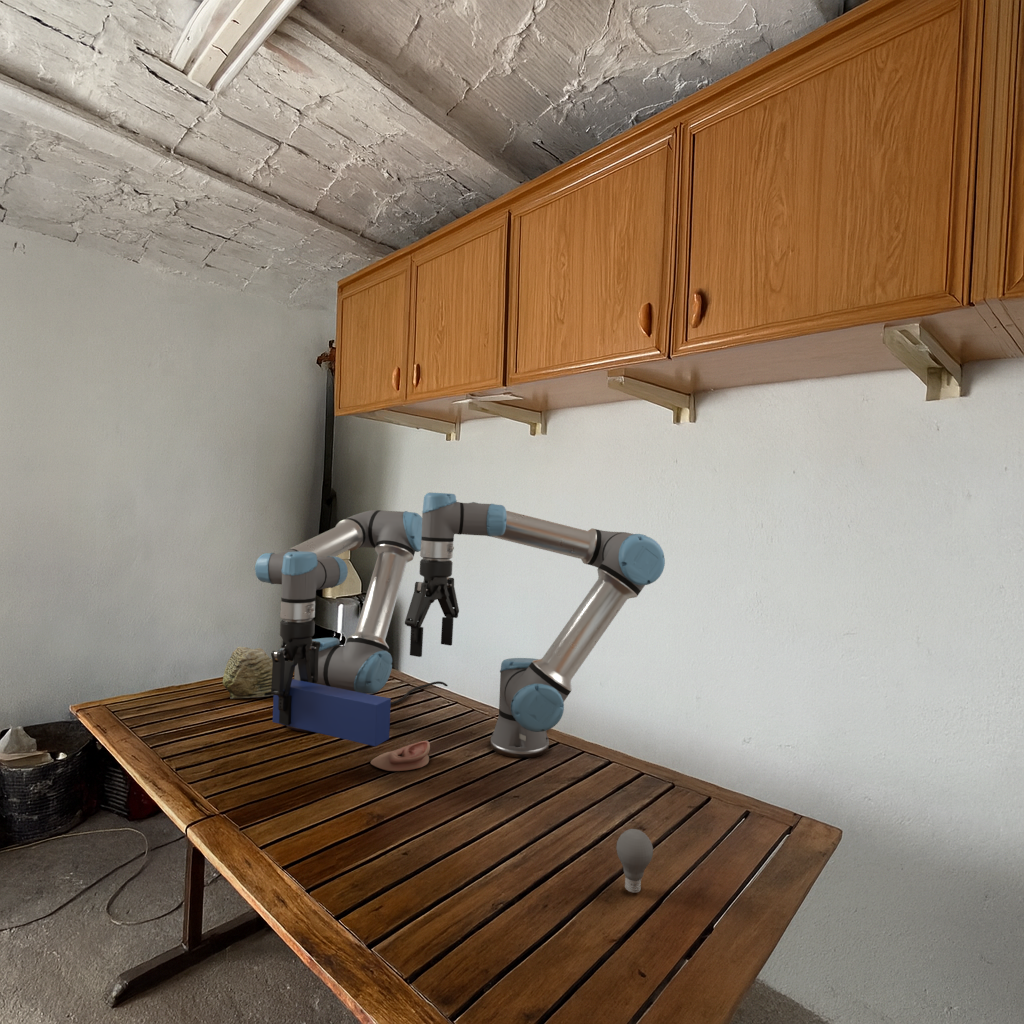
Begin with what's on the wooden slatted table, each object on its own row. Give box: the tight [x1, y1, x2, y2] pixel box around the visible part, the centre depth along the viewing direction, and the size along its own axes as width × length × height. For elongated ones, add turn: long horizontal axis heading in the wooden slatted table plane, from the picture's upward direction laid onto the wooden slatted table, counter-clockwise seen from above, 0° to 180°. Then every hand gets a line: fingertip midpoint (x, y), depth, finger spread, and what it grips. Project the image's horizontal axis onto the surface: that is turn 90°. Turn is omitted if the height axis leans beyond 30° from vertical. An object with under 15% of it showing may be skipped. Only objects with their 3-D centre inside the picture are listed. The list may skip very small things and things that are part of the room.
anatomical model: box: [370, 740, 431, 772], centre depth 153 cm, size 13×4×12 cm
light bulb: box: [615, 828, 654, 894], centre depth 106 cm, size 6×6×10 cm
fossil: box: [222, 646, 274, 699], centre depth 198 cm, size 9×18×15 cm, turn 132°
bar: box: [272, 678, 392, 747], centre depth 142 cm, size 28×5×9 cm, turn 66°
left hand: (294, 719), depth 146 cm, fingers closed on bar, 5 cm apart
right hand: (431, 650), depth 147 cm, fingers open, 13 cm apart
